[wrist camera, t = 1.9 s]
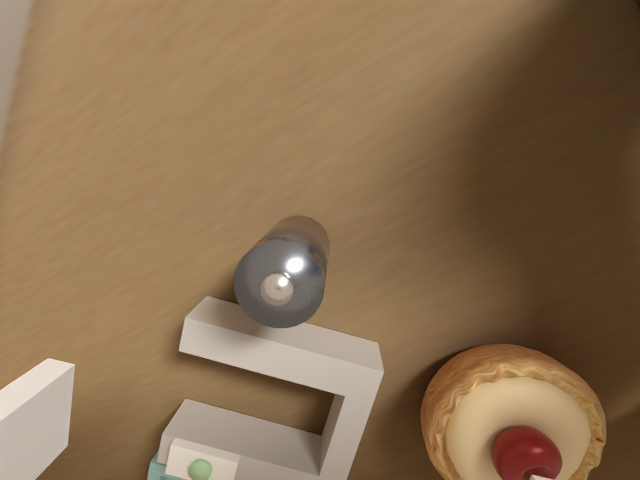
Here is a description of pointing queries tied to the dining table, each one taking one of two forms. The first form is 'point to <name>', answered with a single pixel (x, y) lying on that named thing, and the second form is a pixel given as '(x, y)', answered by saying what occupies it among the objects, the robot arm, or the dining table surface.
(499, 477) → the pastry
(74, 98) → the dining table surface
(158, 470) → the trough
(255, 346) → the white hook bar
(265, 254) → the cell
